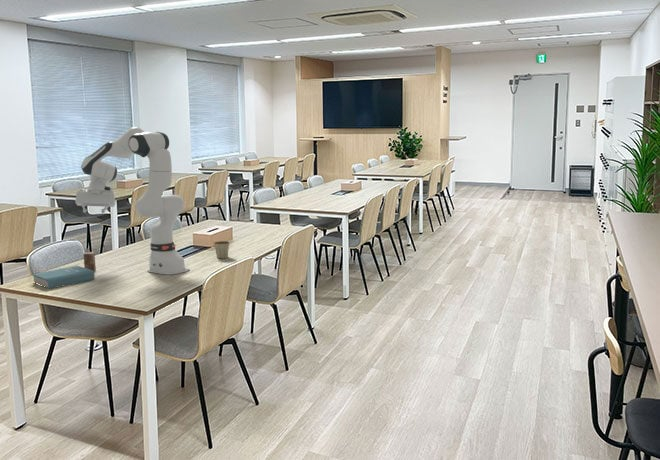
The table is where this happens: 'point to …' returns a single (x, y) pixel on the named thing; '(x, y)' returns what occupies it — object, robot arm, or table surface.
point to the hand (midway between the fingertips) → (93, 212)
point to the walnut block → (89, 261)
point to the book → (63, 276)
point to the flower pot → (221, 249)
